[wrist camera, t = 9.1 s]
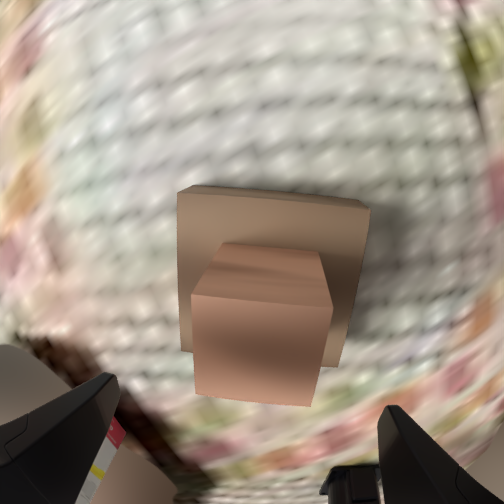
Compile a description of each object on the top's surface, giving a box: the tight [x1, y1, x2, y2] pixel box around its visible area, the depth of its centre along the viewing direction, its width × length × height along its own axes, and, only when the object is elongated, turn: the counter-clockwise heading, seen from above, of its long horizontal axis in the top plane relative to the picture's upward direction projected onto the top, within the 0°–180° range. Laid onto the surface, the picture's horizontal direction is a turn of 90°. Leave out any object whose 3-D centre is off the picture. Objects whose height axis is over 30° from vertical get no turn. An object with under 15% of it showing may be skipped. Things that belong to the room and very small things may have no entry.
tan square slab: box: [177, 185, 371, 367], centre depth 19 cm, size 10×10×3 cm
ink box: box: [75, 416, 126, 504], centre depth 23 cm, size 9×5×12 cm, turn 105°
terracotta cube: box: [191, 243, 333, 407], centre depth 15 cm, size 5×5×6 cm
